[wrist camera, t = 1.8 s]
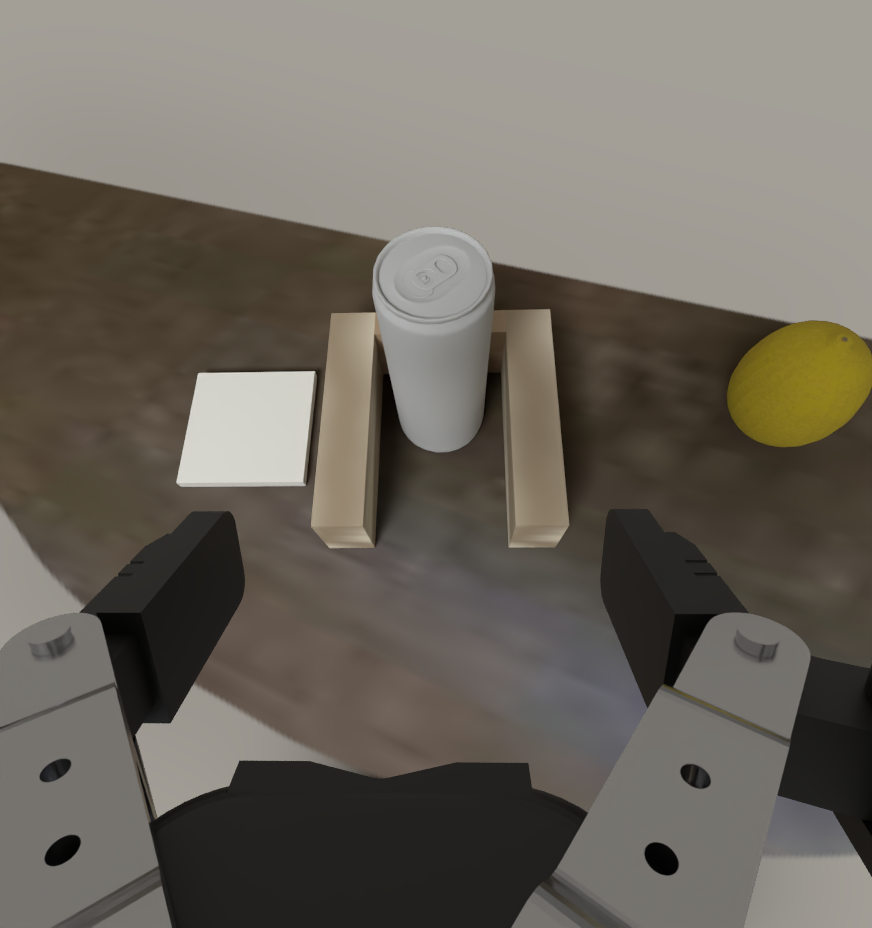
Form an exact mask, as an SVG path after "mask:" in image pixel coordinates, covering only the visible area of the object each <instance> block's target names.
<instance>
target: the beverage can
mask: <svg viewBox="0 0 872 928" xmlns="http://www.w3.org/2000/svg"><path fill="white" fill-rule="evenodd" d="M372 294H373V300H374V304H375V309H376V314H377V318H378V323H379V328H380V332H381V337H382V342H383V346H384V351H385V355H386V360H387V365H388V369H389V374H390V379H391V383H392V388H393V393H394V397H395V402H396V406H397V411H398V416H399V420H400V424H401V427H402V430H403V431H404V433H405V434H406V436H407V437H408V439H410V440H411V441H412V442H413V443H414V444H415V445H417V446H419V447H421V448H423V449H425V450H428V451H433V452H450V451H453V450H457V449H460V448H461V447H463V446H465V445H466V444H468V443H469V442H470V441H471V440H472V439H473V438H474V436H475V435H476V434H477V432H478V430H479V428H480V426H481V423H482V419H483V415H484V404H485V392H486V381H487V370H488V360H489V350H490V341H491V331H492V321H493V311H494V300H495V278H494V273H493V269H492V262H491V260H490V257H489V255H488V253H487V251H486V250H485V249H484V247H483V246H482V245H481V244H480V243H479V242H478V241H477V240H476V239H474V238H473V237H471V236H470V235H468V234H467V233H464V232H462V231H459V230H456V229H454V228H447V227H441V226H435V227H434V226H433V227H422V228H418V229H414V230H410V231H408V232H406V233H404V234H402V235H399V236H397V237H396V238H395V239H393V240H392V241H391V242H390V243H388V244H387V245H386V246H385V247H384V249H383V250H382V251H381V253H380V254H379V255H378V257H377V260H376V263H375V266H374V271H373V292H372Z"/></svg>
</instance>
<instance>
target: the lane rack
mask: <svg viewBox="0 0 872 928" xmlns="http://www.w3.org/2000/svg"><path fill="white" fill-rule="evenodd" d="M487 373H501V387H502V410H503V432H504V454H505V476H506V499H507V521H508V543H509V547H556V545H557V544H558V542H559V540H560V539H561V537H562V536H563V534H564V533H565V531H566V530H567V528H568V526H569V517H568V506H567V495H566V484H565V472H564V461H563V450H562V439H561V428H560V416H559V405H558V394H557V383H556V372H555V360H554V349H553V338H552V327H551V316H550V309H536V310H494V311H493V321H492V331H491V341H490V350H489V360H488V370H487ZM384 374H389V369H388V365H387V360H386V355H385V351H384V346H383V342H382V337H381V332H380V328H379V323H378V318H377V314H376V313H331V324H330V334H329V344H328V355H327V365H326V375H325V386H324V396H323V406H322V417H321V427H320V437H319V448H318V458H317V468H316V479H315V489H314V499H313V510H312V520H311V527H312V528H313V529H314V531H315V532H316V533H317V534H318V535H319V536H320V538H321V539H322V540H323V541H324V542H325V543H326V544H327V546H328V547H329V548H375V535H376V515H377V495H378V475H379V455H380V435H381V415H382V395H383V375H384Z"/></svg>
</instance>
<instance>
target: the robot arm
mask: <svg viewBox="0 0 872 928" xmlns="http://www.w3.org/2000/svg"><path fill="white" fill-rule="evenodd" d="M130 562H131V563H130V564H127V565H126V566H125V567H124V568H123V569H122V570H121V571H120V572H119V573H118V577H114V578H113V579H112V580H111V581H110V582H109V583H108V584H107V585H106V586H105V587H104V588H103V589H102V590H101V591H100V592H99V593H98V594H97V595H96V596H95V597H94V598H93V599H92V600H91V601H90V602H89V603H88V604H87V605H86V606H85V607H84V608H83V609H82V610H81V612H80V613H70V614H64V615H59V616H55V617H52V618H48V619H45V620H43V621H40V622H38V623H36V624H34V625H31V626H29V627H27V628H26V629H24V630H22V631H21V632H19V633H18V634H16V635H15V636H14V637H12V638H11V639H10V640H9V641H8V642H7V643H6V644H5V645H4V646H3V647H2V649H1V650H0V928H744V924H745V920H746V916H747V912H748V908H749V904H750V900H751V896H752V892H753V888H754V884H755V881H756V876H757V873H758V869H759V865H760V861H761V857H762V853H763V849H764V845H765V841H766V837H767V833H768V829H769V826H770V822H771V818H772V814H773V810H774V806H775V802H776V798H777V795H778V796H782V797H785V798H789V799H792V800H796V801H799V802H803V803H806V804H810V805H813V806H817V807H820V808H824V809H827V810H831V811H833V813H834V814H835V816H836V818H837V819H838V821H839V823H840V825H841V826H842V828H843V830H844V831H845V833H846V835H847V836H848V838H849V840H850V841H851V843H852V845H853V846H854V848H855V850H856V851H857V853H858V855H859V856H860V858H861V859H862V861H863V863H864V865H865V866H866V868H867V870H868V871H869V873H870V875H871V876H872V665H871V668H870V669H869V668H864V667H859V666H854V665H850V664H845V663H840V662H835V661H830V660H825V659H821V658H817V657H813V656H811V655H810V652H809V649H808V647H807V645H806V644H805V643H804V642H803V640H802V639H801V638H800V637H799V636H797V635H796V634H795V633H794V632H792V631H791V630H790V629H788V628H786V627H785V626H783V625H781V624H779V623H777V622H775V621H772V620H770V619H767V618H764V617H761V616H757V615H753V614H749V613H748V611H747V610H746V609H745V608H744V606H743V605H742V604H741V602H740V601H739V600H738V599H737V597H736V596H735V595H734V594H733V592H732V591H731V590H730V589H729V587H728V586H727V585H726V583H725V582H724V581H723V580H722V578H721V577H720V576H717V572H716V571H715V570H714V568H713V567H712V566H711V564H710V563H707V559H706V558H705V557H704V556H703V554H702V553H701V552H700V551H699V549H698V548H697V547H696V545H694V544H693V543H691V542H690V541H688V540H686V539H685V538H683V537H682V536H680V535H678V534H677V533H675V532H664V531H663V529H662V528H661V527H660V525H659V524H658V522H657V521H656V520H655V518H654V517H653V516H652V514H651V513H650V511H649V510H647V509H611V510H610V511H609V512H608V515H607V519H606V528H605V537H604V547H603V556H602V566H601V592H602V598H603V602H604V605H605V607H606V609H607V612H608V614H609V617H610V619H611V622H612V624H613V626H614V629H615V631H616V634H617V636H618V638H619V641H620V643H621V646H622V648H623V651H624V653H625V655H626V658H627V660H628V663H629V665H630V667H631V670H632V672H633V675H634V677H635V679H636V682H637V684H638V687H639V689H640V692H641V694H642V696H643V699H644V701H645V704H646V706H647V708H648V709H647V711H646V713H645V714H644V716H643V718H642V720H641V721H640V723H639V725H638V727H637V728H636V730H635V732H634V734H633V735H632V737H631V739H630V741H629V742H628V744H627V746H626V748H625V749H624V751H623V753H622V755H621V756H620V758H619V760H618V762H617V763H616V765H615V767H614V769H613V771H612V772H611V774H610V776H609V778H608V779H607V781H606V783H605V785H604V786H603V788H602V790H601V792H600V793H599V795H598V797H597V799H596V800H595V802H594V804H593V806H592V807H591V809H590V811H589V813H588V812H586V811H584V810H583V809H581V808H580V807H578V806H576V805H574V804H572V803H570V802H568V801H566V800H564V799H562V798H560V797H557V796H555V795H552V794H550V793H547V792H544V791H541V790H537V789H533V788H532V786H531V779H530V772H529V765H528V763H458V762H456V763H452V764H448V765H443V766H439V767H434V768H430V769H425V770H421V771H417V772H412V773H408V774H403V775H399V776H394V777H390V778H384V779H377V778H372V777H368V776H364V775H360V774H357V773H353V772H349V771H345V770H341V769H337V768H334V767H329V766H326V765H322V764H318V763H314V762H311V761H239V764H238V766H237V768H236V771H235V773H234V776H233V778H232V781H231V783H230V786H229V787H224V788H221V789H217V790H214V791H212V792H209V793H205V794H202V795H200V796H198V797H196V798H193V799H191V800H189V801H186V802H184V803H182V804H181V805H179V806H177V807H175V808H173V809H171V810H170V811H168V812H166V813H165V814H163V815H162V816H160V817H158V818H157V814H156V810H155V807H154V803H153V799H152V795H151V792H150V787H149V784H148V780H147V776H146V772H145V768H144V764H143V761H142V757H141V753H140V750H139V746H138V743H137V739H136V736H135V734H136V733H137V731H138V730H139V728H140V726H141V725H142V723H171V721H172V720H173V718H174V716H175V715H176V713H177V711H178V709H179V708H180V706H181V704H182V702H183V701H184V699H185V697H186V696H187V694H188V692H189V690H190V689H191V687H192V685H193V684H194V682H195V680H196V678H197V677H198V675H199V673H200V672H201V670H202V668H203V666H204V665H205V663H206V661H207V659H208V658H209V656H210V654H211V653H212V651H213V649H214V647H215V646H216V644H217V642H218V641H219V639H220V637H221V635H222V634H223V632H224V630H225V628H226V627H227V625H228V623H229V622H230V620H231V618H232V616H233V615H234V613H235V611H236V610H237V608H238V606H239V604H240V602H241V600H242V597H243V593H244V586H245V575H244V569H243V563H242V557H241V552H240V546H239V540H238V535H237V529H236V524H235V520H234V517H233V515H232V514H231V513H230V512H229V511H195V512H192V513H190V514H189V515H188V516H187V517H186V519H185V520H184V521H183V522H182V523H181V524H180V525H179V526H178V527H177V528H176V529H175V530H174V531H173V532H172V533H171V534H166V535H165V536H163V537H161V538H159V539H157V540H156V541H154V542H152V543H150V544H149V545H147V546H145V547H144V548H143V549H142V550H141V551H140V552H139V553H138V554H137V555H136V556H135V557H134V558H133V559H132V560H131V561H130Z"/></svg>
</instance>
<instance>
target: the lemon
mask: <svg viewBox="0 0 872 928" xmlns="http://www.w3.org/2000/svg"><path fill="white" fill-rule="evenodd" d="M871 387H872V355H871V352H870V349H869V348H868V346H867V345H866V343H865V342H864V341H863V340H862V339H861V338H860V337H859V336H858V335H857V334H856V333H854V332H853V331H851V330H850V329H848V328H846V327H844V326H841V325H839V324H836V323H832V322H827V321H805V322H799V323H794V324H791V325H788V326H786V327H784V328H781V329H779V330H777V331H775V332H773V333H771V334H770V335H768V336H766V337H765V338H764V339H762V340H761V341H760V342H759V343H757V344H756V345H755V346H754V347H753V348H751V349H750V350H749V351H748V352H747V353H746V354H745V355H744V357H743V358H742V359H741V361H740V362H739V364H738V365H737V367H736V368H735V370H734V372H733V374H732V376H731V378H730V382H729V386H728V390H727V405H728V409H729V412H730V415H731V418H732V419H733V421H734V422H735V424H736V425H737V427H738V428H739V429H740V430H741V431H742V432H744V433H745V434H746V435H747V436H749V437H750V438H752V439H754V440H755V441H758V442H760V443H763V444H766V445H770V446H777V447H795V446H802V445H805V444H809V443H812V442H815V441H818V440H820V439H823V438H825V437H827V436H828V435H830V434H831V433H833V432H834V431H836V430H837V429H839V428H840V427H842V426H843V425H844V424H846V423H847V422H848V421H849V420H850V419H851V418H852V417H853V416H854V414H855V413H856V412H857V411H858V409H859V408H860V407H861V405H862V404H863V403H864V401H865V400H866V398H867V396H868V395H869V393H870V390H871Z"/></svg>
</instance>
